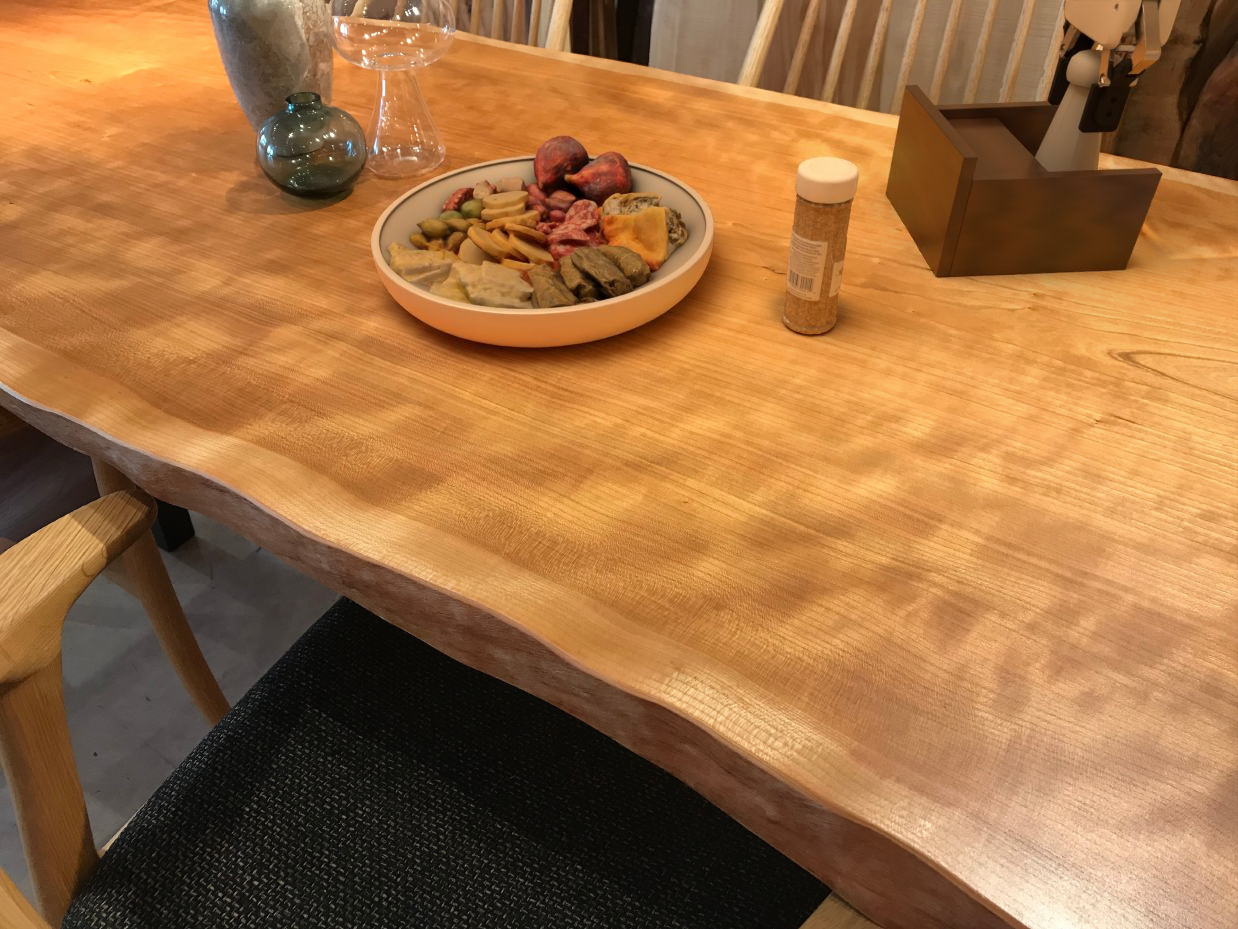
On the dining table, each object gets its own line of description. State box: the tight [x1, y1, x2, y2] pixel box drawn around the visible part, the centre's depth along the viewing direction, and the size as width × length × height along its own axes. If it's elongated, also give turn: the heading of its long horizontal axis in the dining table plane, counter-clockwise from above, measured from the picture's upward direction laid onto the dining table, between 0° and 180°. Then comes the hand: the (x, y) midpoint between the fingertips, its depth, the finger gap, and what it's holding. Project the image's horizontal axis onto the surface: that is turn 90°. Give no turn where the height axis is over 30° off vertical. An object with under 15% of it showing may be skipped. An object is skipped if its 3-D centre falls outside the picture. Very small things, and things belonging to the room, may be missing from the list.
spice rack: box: [885, 84, 1163, 278], centre depth 84 cm, size 17×17×11 cm
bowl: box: [370, 135, 715, 348], centre depth 81 cm, size 30×30×8 cm
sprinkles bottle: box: [781, 156, 860, 335], centre depth 72 cm, size 5×5×13 cm
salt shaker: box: [1035, 49, 1123, 172], centre depth 82 cm, size 6×6×13 cm
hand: (1080, 114), depth 81 cm, fingers open, 5 cm apart
